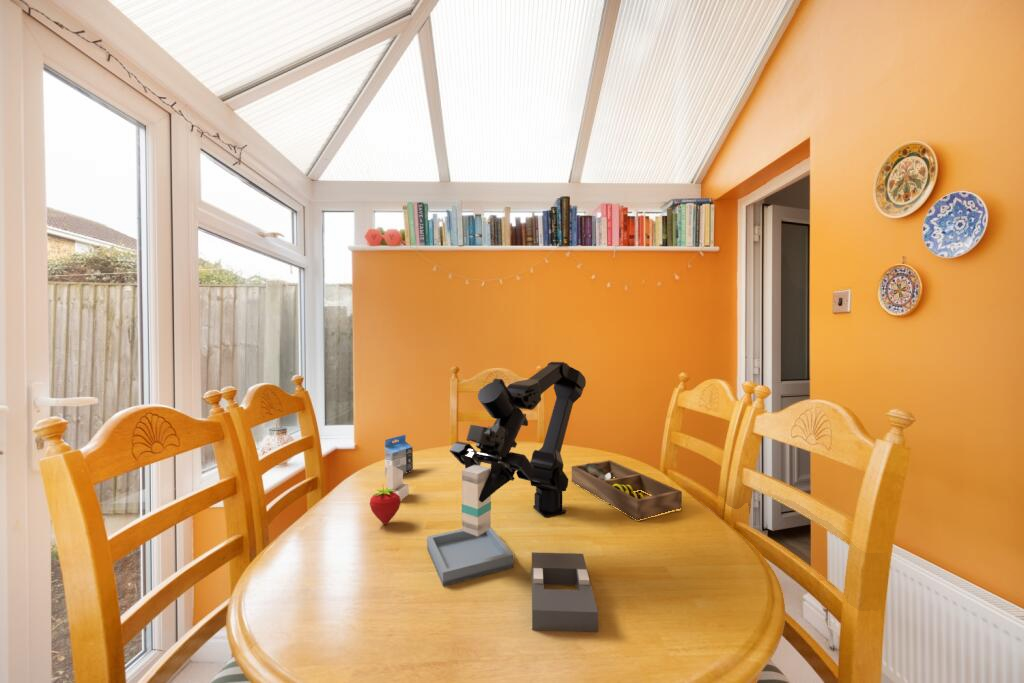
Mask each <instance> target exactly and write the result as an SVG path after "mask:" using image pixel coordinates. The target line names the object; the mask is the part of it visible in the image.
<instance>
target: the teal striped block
mask: <svg viewBox="0 0 1024 683" xmlns="http://www.w3.org/2000/svg"><path fill="white" fill-rule="evenodd" d="M490 471H491V467H488V466H483V465H480V466H479V465H473V466H471V467H468V468H466V469H465V468H464V469H461V516H462V518H461V529H462V531H464V532H467V533H470V534H472V535H475V536H479V535H481V534H482V533H484V532H486V531H487V530H489V529H490V528H492V527H491V524H492V521H491V520H492V519H491V517H492V515H491V512H492V511H491V510H492V501H491V496H492V495H491V496H489V497H488V498H487V499H486V500H485V501H484V502H480V501H479V497H480V494H481V492H482V489H483V487H484V485H485V483H486V481H487V479H488V477H489V474H490Z"/></svg>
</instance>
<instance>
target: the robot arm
mask: <svg viewBox="0 0 1024 683" xmlns="http://www.w3.org/2000/svg"><path fill="white" fill-rule="evenodd" d="M586 384H587V381H586V377H585V375H583V374H582V372H581V371H580V370H577V369H576V368H574V367H572V366H570V365H569V364H568V363H567V362H564V361H550V362H548V363H547V365H546V366H545V367H544V368H542V369H540V370H539V371H538V372H536V373H535V374H533V375H532V376H531V377H529V378H528V379H523V380H518V381H513V382H511V383H510V384H508V385H507V386H506V383H505V382H504V380H503V379H502V378H494V379H493V381H492V382H489V383H487V384H485V385H484V386H483V387H482V388H480V389H479V391H478V393H477V398H478V402H480V404H481V405H482V406H483V408H484V409H485V410H486V412H487V413H488V414H489V416H490V417H491V418H493V419H495V421H494V423H493V425H492V426H489V425H488V426H487V427H486V426H482V425H475V424H470V425H469V429H468V433H467V435H466V436H467V437H466V439H465V440H466V441H467V442H474V443H476V444H475V447H476V448H477V449H479V450H480V451H478V450H476V449H475V448H474V447H473V446H472V445H471V444H470V443H467V442H462V441H456V442H454V443H453V444H452V445H451V448H450V449H449V453H451V454H452V455H453V456H454V458H455V459H456V460H457V461H458V462H459V464H461V465H464V469H466V468H468V467H471V466H473V465H479V466H481V463H484V464H487V465H488V464H489V465H490V474H489V477H488V479H487V481H486V483H485V485H484V487H483V489H482V492H481V494H480V497H479V501H480V502H484V501H485V500H486V499H487V498H488V497H489V496H492V495H493V494H494V493H496V491H497V490H499V489H500V488H501V487H503V486H504V485H506V484H507V483H509V482H511V481H514V480H515V477H514V476H515V473H516V475H517V478H518V479H520V480H523V481H528V482H529V483H530V487H535V492H534V505H532V506H533V507H532V508H533V509H534V510H535V511H536V512H538V513H539V514H540V515H541V516H542V517H544V518H547V517H552V516H555V515H561V514H566V512H567V510H566V509H565V508H564V507H563V492H566V491H567V488H568V486H569V477H568V476H567V474H566V473H565V472H564V462H563V458H562V455H561V452H562V447H563V444H564V440H565V436H566V432H567V428H568V425H569V421H570V417H571V413H572V409H573V405H574V403H575V402H576V401H577V400H578V399H580V398H581V397H582V395H583V391H584V389H585V387H586ZM552 386H553V390H554V393H555V394H554V395H555V398H556V399H555V401H554V406H553V409H552V412H551V416H550V420H549V424H548V426H547V430H546V433H545V437H544V441H543V443H542V444H543V445H542V447H540V448H539V450H538V449H534V450H533V451H532V454H531V455H532V456H531V459H530V460H529V459H528V457H527V456H526V455H525V454H523V453H522V454H521V453H517V452H513V451H511V450H512V448H515V449H516V447H517V445H518V443H517V442H516V439H517V436H518V434H519V432H520V430H521V428H522V426H524V427H528V425H529V421H528V419H527V413H524V412H523V410H530V411H531V410H534V409H535V408H536V407H537V406H538V405H539V403H541V401H542V394H543V393H544V392H547V390H548V389H550V388H551V387H552ZM521 409H522V410H521Z"/></svg>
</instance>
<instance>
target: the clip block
mask: <svg viewBox="0 0 1024 683" xmlns="http://www.w3.org/2000/svg"><path fill="white" fill-rule="evenodd" d="M587 568H588V567H587V564H586V560H585V555H584V553H573V552H571V553H570V552H569V553H567V552H565V553H564V552H563V553H562V552H534V551H533V552H531V623H532V625H531V626H532V627H531V630H533V631H556V632H557V631H558V632H559V631H561V632H589V633H598V632H599V611H598V606H597V604H596V599H595V595H594V591H593V587H592V582H591V580H590V576H589V571H588V569H587ZM545 585H547V586H548V585H550V586H551V585H552V586H553V585H554V586H555V585H556V586H557V585H558V586H575V587H576V590H575V589H549V588H548V589H547V588H546V589H545Z"/></svg>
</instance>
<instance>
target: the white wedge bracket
mask: <svg viewBox="0 0 1024 683" xmlns="http://www.w3.org/2000/svg"><path fill="white" fill-rule="evenodd" d="M409 486H410V484H409V483H406V482H405V483H404V474H403V471H402V470H400V469H398V468H396V467H394V466H387V477H386V488H388V489H394V490H392V491H396V492H394V493H396V494H397V495H399V496H400V500H401V501H403V500H404V499H405V498H406V497H408V496H409V495H408V494H409V490H410V488H409ZM405 496H406V497H405ZM404 497H405V498H404ZM403 498H404V499H403ZM402 499H403V500H402Z"/></svg>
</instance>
